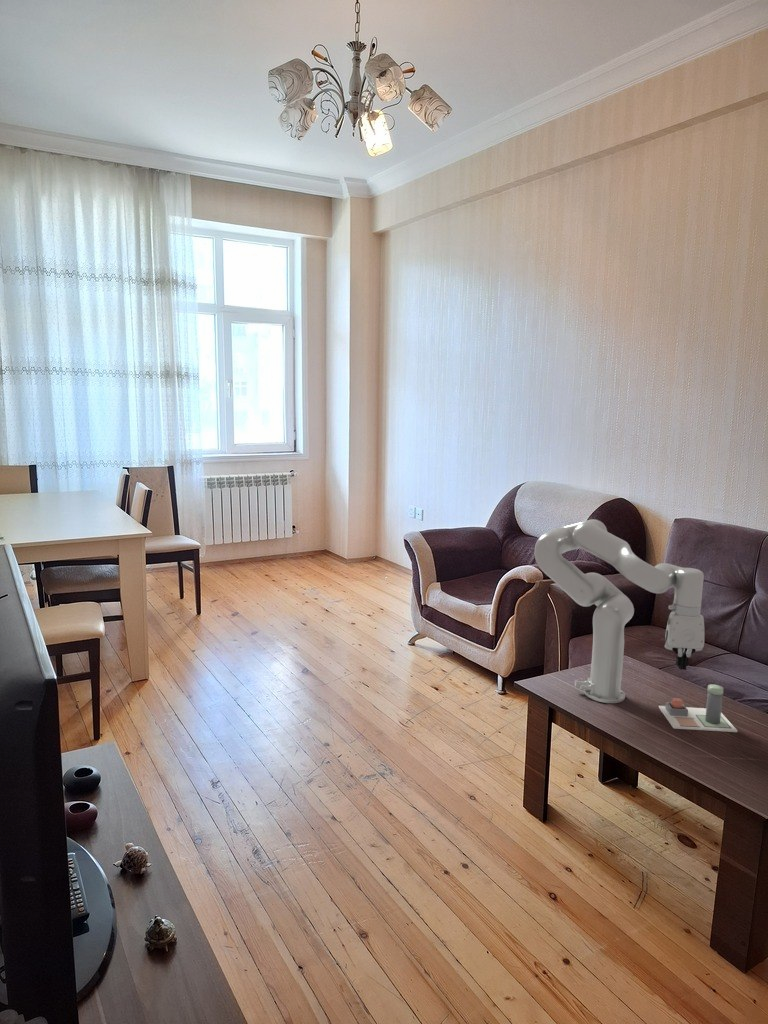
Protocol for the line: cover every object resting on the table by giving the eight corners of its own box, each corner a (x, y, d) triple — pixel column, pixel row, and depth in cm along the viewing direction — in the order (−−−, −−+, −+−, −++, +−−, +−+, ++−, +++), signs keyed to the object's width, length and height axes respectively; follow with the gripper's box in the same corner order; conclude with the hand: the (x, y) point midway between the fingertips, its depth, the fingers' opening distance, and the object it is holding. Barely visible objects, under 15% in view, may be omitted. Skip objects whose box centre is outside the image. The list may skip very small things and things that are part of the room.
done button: (673, 709, 207) (673, 702, 207) (669, 705, 210) (670, 697, 210) (683, 710, 207) (684, 702, 206) (680, 705, 210) (681, 698, 210)
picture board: (673, 728, 199) (674, 720, 199) (658, 707, 213) (659, 699, 213) (737, 732, 198) (738, 724, 198) (718, 710, 212) (719, 703, 211)
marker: (708, 723, 201) (711, 689, 200) (702, 717, 205) (705, 684, 204) (722, 724, 201) (726, 690, 200) (716, 718, 205) (719, 684, 204)
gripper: (665, 612, 200) (660, 671, 203) (717, 614, 199) (711, 674, 202) (657, 605, 208) (652, 662, 211) (707, 606, 206) (702, 664, 209)
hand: (681, 667), depth 206 cm, fingers closed
